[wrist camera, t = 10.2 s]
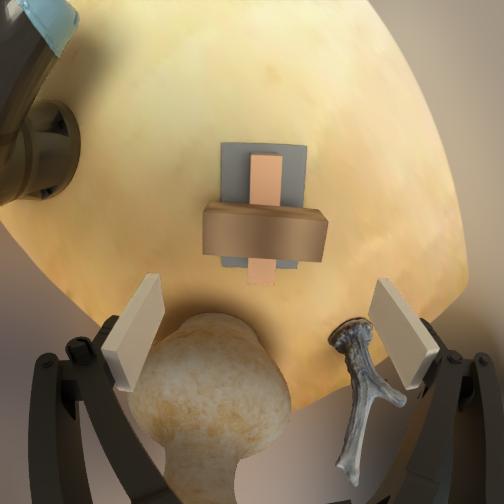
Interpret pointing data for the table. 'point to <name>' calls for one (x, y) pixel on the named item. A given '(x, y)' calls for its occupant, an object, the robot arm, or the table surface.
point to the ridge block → (262, 191)
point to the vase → (210, 404)
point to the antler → (360, 390)
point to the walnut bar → (263, 232)
